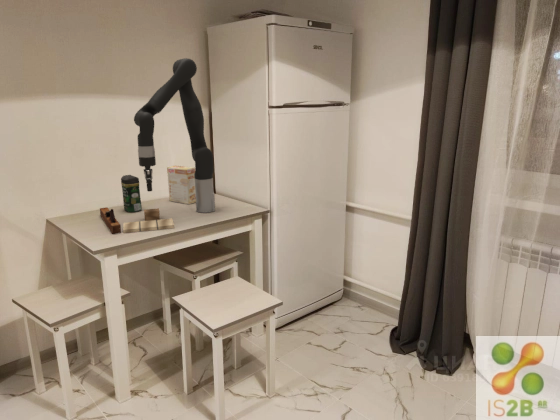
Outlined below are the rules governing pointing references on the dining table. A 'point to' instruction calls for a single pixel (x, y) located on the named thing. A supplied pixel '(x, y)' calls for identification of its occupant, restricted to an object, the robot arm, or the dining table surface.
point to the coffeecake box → (181, 184)
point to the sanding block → (151, 214)
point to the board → (148, 225)
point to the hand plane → (110, 220)
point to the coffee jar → (131, 193)
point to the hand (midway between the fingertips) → (149, 189)
